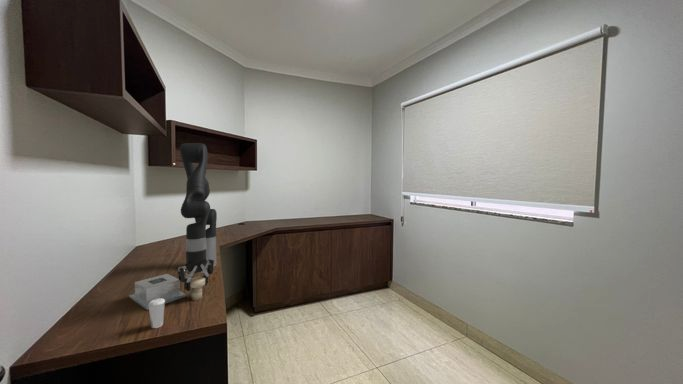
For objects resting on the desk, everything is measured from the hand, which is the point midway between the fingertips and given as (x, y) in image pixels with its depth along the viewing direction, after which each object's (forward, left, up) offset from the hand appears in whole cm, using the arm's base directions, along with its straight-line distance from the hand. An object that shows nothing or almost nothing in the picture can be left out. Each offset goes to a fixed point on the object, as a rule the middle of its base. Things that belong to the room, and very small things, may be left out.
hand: (196, 287), depth 107 cm
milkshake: (+10, -18, -5) cm, 21 cm away
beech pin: (0, 0, -5) cm, 5 cm away
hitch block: (-14, -9, -4) cm, 17 cm away
